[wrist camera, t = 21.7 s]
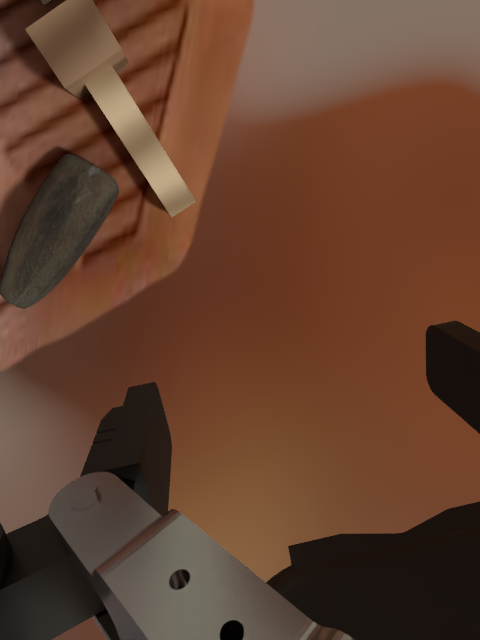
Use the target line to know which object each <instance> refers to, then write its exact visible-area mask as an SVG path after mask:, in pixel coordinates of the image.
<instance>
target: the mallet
mask: <svg viewBox="0 0 480 640" xmlns="http://www.w3.org/2000/svg"><path fill="white" fill-rule="evenodd" d="M25 30H26V31H27V33H28V34H29V36H30V37H31V39H32V40H33V42H34V43H35V45H36V46H37V48H38V49H39V51H40V52H41V54H42V55H43V57H44V58H45V60H46V61H47V63H48V64H49V66H50V67H51V69H52V70H53V72H54V73H55V74H56V76H57V77H58V79H59V80H60V82H61V83H62V85H63V86H64V88H65V89H66V90H68V91H69V92H70V93H72V94H73V95H74V96H76V97H77V98H78V99H80V98H82V97H83V96H85V95H86V94H88V93H89V92H90V93H91V95H92V96H93V98H94V99H95V101H96V102H97V104H98V105H99V107H100V108H101V110H102V111H103V113H104V115H105V116H106V118H107V119H108V121H109V122H110V124H111V125H112V127H113V128H114V130H115V131H116V133H117V134H118V136H119V138H120V139H121V141H122V142H123V144H124V145H125V147H126V148H127V150H128V151H129V153H130V154H131V156H132V158H133V159H134V161H135V162H136V164H137V165H138V167H139V168H140V170H141V171H142V173H143V174H144V176H145V177H146V179H147V181H148V182H149V184H150V185H151V187H152V188H153V190H154V191H155V193H156V194H157V196H158V197H159V199H160V201H161V202H162V204H163V205H164V207H165V208H166V210H167V211H168V213H169V214H170V216H171V217H173V216H175V215H176V214H178V213H179V212H181V211H182V210H184V209H186V208H187V207H189V206H190V205H192V204H193V203H195V202H196V200H195V199H194V197H193V195H192V194H191V192H190V190H189V189H188V187H187V186H186V184H185V182H184V181H183V179H182V178H181V176H180V174H179V173H178V171H177V169H176V168H175V166H174V165H173V163H172V161H171V160H170V158H169V157H168V155H167V153H166V152H165V150H164V148H163V147H162V145H161V144H160V142H159V140H158V139H157V137H156V136H155V134H154V132H153V131H152V129H151V127H150V126H149V124H148V123H147V121H146V119H145V118H144V116H143V114H142V113H141V111H140V110H139V108H138V106H137V105H136V103H135V102H134V100H133V98H132V97H131V95H130V93H129V92H128V90H127V89H126V87H125V85H124V84H123V82H122V81H121V79H120V77H119V76H118V74H117V73H118V72H120V71H121V70H123V69H124V68H126V67H127V66H129V65H130V64H129V62H128V60H127V58H126V56H125V54H124V52H123V50H122V49H121V47H120V45H119V44H118V42H117V40H116V39H115V37H114V35H113V34H112V32H111V30H110V29H109V27H108V25H107V24H106V22H105V20H104V19H103V17H102V15H101V14H100V12H99V10H98V9H97V7H96V5H95V4H94V2H93V0H66V1H64V2H63V3H61V4H60V5H59V6H57V7H56V8H54V9H53V10H52V11H50V12H49V13H47V14H46V15H45V16H43V17H42V18H40V19H39V20H37V21H36V22H35V23H33V24H32V25H30V26H29V27H28V28H26V29H25Z"/></svg>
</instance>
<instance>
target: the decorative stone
mask: <svg viewBox="0 0 480 640" xmlns="http://www.w3.org/2000/svg"><path fill="white" fill-rule="evenodd" d="M118 193H119V188H118V185H117V183H116V181H115V179H114V178H113V177H112V176H110V175H109V174H108V173H106V172H104V171H103V170H101V169H99V168H98V167H96V166H94V165H93V164H91V163H89V162H87V161H85V160H83V159H81V158H79V157H78V156H76V155H73V154H65V155H64V156H62V157H61V159H60V160H59V161H58V163H57V164H56V165H55V167H54V168H53V170H52V171H51V173H50V174H49V176H48V177H47V178H46V180H45V182H44V183H43V185H42V186H41V188H40V189H39V191H38V192H37V194H36V195H35V197H34V199H33V200H32V202H31V203H30V205H29V207H28V208H27V210H26V212H25V214H24V216H23V218H22V220H21V222H20V224H19V226H18V228H17V230H16V233H15V236H14V238H13V241H12V244H11V247H10V250H9V253H8V256H7V260H6V263H5V267H4V270H3V273H2V277H1V280H0V294H1V296H2V297H3V298H4V299H5V300H6V301H8V302H9V303H11V304H13V305H15V306H17V307H19V308H23V309H25V308H28V307H30V306H32V305H33V304H35V303H37V302H38V301H39V300H41V299H42V298H43V297H44V296H45V295H47V294H48V293H49V292H50V291H51V290H52V289H53V288H54V287H55V286H56V285H57V284H58V283H59V282H60V281H61V280H62V279H63V278H64V277H65V275H66V274H67V273H68V272H69V271H70V269H71V268H72V267H73V265H74V264H75V263H76V262H77V260H78V259H79V257H80V256H81V255H82V253H83V252H84V250H85V249H86V248H87V246H88V245H89V243H90V242H91V240H92V239H93V237H94V236H95V234H96V233H97V231H98V230H99V228H100V227H101V225H102V223H103V222H104V220H105V218H106V217H107V215H108V213H109V212H110V210H111V208H112V206H113V204H114V202H115V200H116V198H117V196H118Z"/></svg>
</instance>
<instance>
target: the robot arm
mask: <svg viewBox="0 0 480 640" xmlns="http://www.w3.org/2000/svg"><path fill="white" fill-rule="evenodd" d="M426 376H427V381H428V384H429V386H430V389H431V390H432V392H433V393H434V394H435V395H436V396H437V397H438V398H439V399H440V400H442V401H443V402H444V403H445V404H446V405H447V406H448V407H450V408H451V409H452V410H453V411H454V412H455V413H456V414H458V415H459V416H460V417H462V419H463V420H464V421H466V422H467V423H468V424H469V425H470V426H471V427H472V428H474V429H475V430H476V431H477V432H478V433H479V434H480V332H478V331H476V330H474V329H472V328H470V327H468V326H466V325H464V324H462V323H460V322H458V321H451V322H446V323H441V324H437V325H431V326H429V327H428V329H427V331H426ZM171 455H172V443H171V435H170V431H169V426H168V423H167V419H166V415H165V411H164V408H163V404H162V400H161V397H160V393H159V389H158V386H157V384H156V383H155V382H152V383H148V384H143V385H138V386H133V387H129V388H128V391H127V394H126V398H125V401H124V405H123V406H121V407H116V408H112V409H111V410H110V411H109V412H108V413H107V415H106V416H105V417H104V418H103V419H102V420H101V422H100V425H99V428H98V430H97V435H95V438H94V441H93V445H92V446H91V449H90V452H89V454H88V457H87V460H86V462H85V465H84V468H83V471H82V473H81V476H80V478H77V479H75V480H74V481H72V482H70V483H69V484H67V485H66V486H65V487H64V488H62V489H61V490H60V491H59V492H58V493H57V494H56V496H55V497H54V498H53V500H52V502H51V504H50V506H49V514H48V515H47V516H45V517H43V518H41V519H39V520H37V521H35V522H32V523H30V524H28V525H26V526H23V527H21V528H19V529H17V530H14V531H12V532H10V533H8V534H6V533H5V531H4V529H3V527H2V525H1V523H0V640H51V639H53V638H55V637H57V636H58V635H60V634H62V633H64V632H65V631H67V630H69V629H71V628H73V627H75V626H76V625H78V624H80V623H82V622H84V621H85V620H87V619H89V618H91V617H93V619H94V620H95V622H96V624H97V625H98V627H99V628H100V630H101V631H102V633H103V635H104V636H105V638H106V639H107V640H480V502H476V503H472V504H467V505H464V506H459V507H454V508H450V509H447V510H445V511H443V512H441V513H440V514H438V515H436V516H434V517H432V518H430V519H428V520H427V521H425V522H423V523H421V524H419V525H417V526H415V527H414V528H412V529H410V530H408V531H406V532H403V533H397V534H338V535H334V536H330V537H325V538H321V539H317V540H313V541H308V542H304V543H300V544H295V545H291V546H288V548H289V553H290V559H291V566H289V567H287V568H285V569H283V570H282V571H280V572H279V573H278V574H276V575H275V576H274V577H272V578H271V579H270V580H268V581H267V582H264V581H263V580H262V579H261V578H260V577H258V576H257V575H256V574H255V573H253V572H252V571H251V570H250V569H249V568H247V567H246V566H245V565H244V564H242V563H241V562H240V561H239V560H238V559H236V558H235V557H234V556H233V555H231V554H230V553H229V552H228V551H227V550H225V549H224V548H223V547H222V546H221V545H219V544H218V543H217V542H216V541H215V540H213V539H212V538H211V537H210V536H208V535H207V534H206V533H205V532H204V531H202V530H201V529H200V528H199V527H198V526H196V525H195V524H194V523H193V522H191V521H190V520H189V519H188V518H187V517H185V516H184V515H183V514H182V513H180V512H179V511H177V510H174V509H171V510H170V511H168V502H169V486H170V471H171Z"/></svg>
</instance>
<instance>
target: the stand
mask: <svg viewBox="0 0 480 640" xmlns="http://www.w3.org/2000/svg"><path fill="white" fill-rule="evenodd" d="M40 1H41V2H42V3H43V4H44V5H45V4H47V3H48V2H50V1H51V0H40Z"/></svg>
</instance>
